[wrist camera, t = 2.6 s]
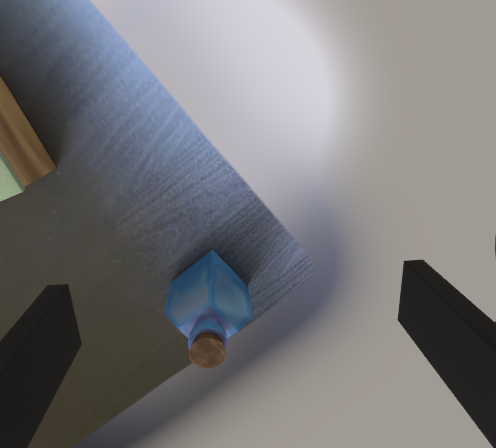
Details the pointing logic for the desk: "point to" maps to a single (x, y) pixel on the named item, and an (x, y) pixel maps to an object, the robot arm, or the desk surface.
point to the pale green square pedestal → (18, 148)
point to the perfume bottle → (208, 308)
